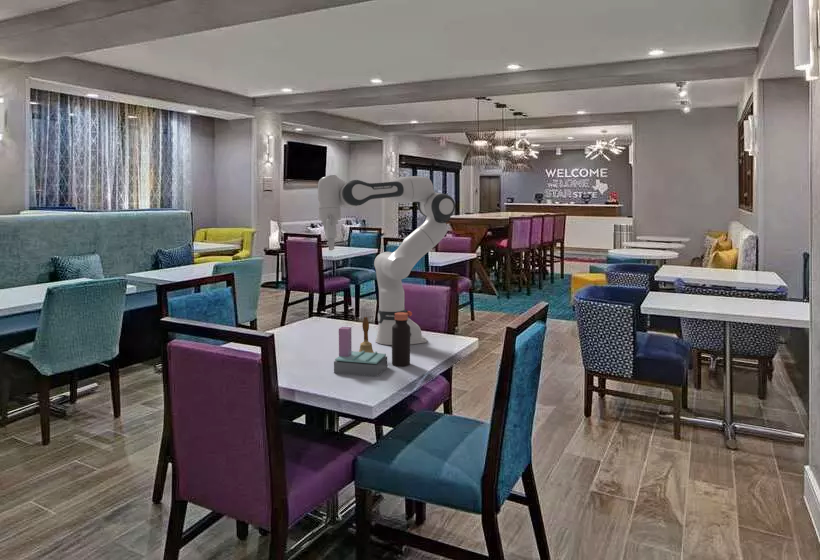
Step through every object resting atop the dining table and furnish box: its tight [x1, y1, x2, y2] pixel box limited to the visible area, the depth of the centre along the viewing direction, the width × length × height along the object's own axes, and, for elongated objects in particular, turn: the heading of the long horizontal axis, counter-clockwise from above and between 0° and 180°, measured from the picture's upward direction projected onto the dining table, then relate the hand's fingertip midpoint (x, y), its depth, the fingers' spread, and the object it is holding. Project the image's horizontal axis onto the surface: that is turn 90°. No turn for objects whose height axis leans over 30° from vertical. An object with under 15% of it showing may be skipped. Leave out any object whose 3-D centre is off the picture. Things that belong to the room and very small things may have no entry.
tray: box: [333, 355, 388, 378], centre depth 207 cm, size 16×12×5 cm
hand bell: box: [358, 316, 375, 353], centre depth 227 cm, size 8×8×16 cm
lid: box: [334, 326, 387, 364], centre depth 206 cm, size 15×12×11 cm
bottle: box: [391, 312, 411, 368], centre depth 214 cm, size 7×7×20 cm
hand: (331, 250), depth 234 cm, fingers open, 8 cm apart
